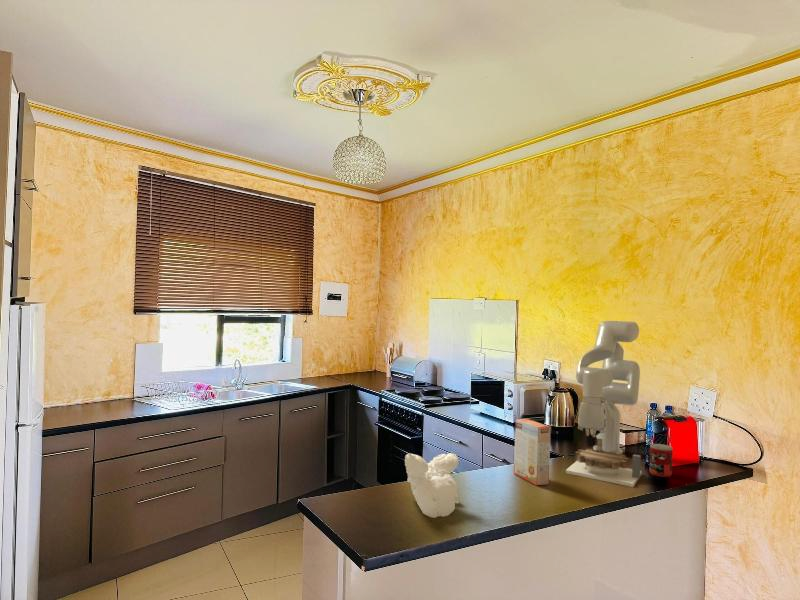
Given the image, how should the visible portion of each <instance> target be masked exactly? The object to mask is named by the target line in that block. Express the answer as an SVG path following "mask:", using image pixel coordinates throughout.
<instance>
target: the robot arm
mask: <svg viewBox="0 0 800 600" xmlns="http://www.w3.org/2000/svg"><path fill="white" fill-rule="evenodd" d="M639 334H640V328H639V325H638V323H637V322H635V321H625V320H623V321H622V320H603V321H601V322H600V323H599V324H598V330H597V334H596V338H595V342H594V346H593V347H592V348H591V349H590V350H588V351H587V352H585V353H584V354H582V356H581V358H580V359H579V361H578V365H577V368H576V371H575V373H576V374H575V379H576V382H577V383H578V384H580V385H582V402H580V406H579V410H578V417H577V418H578V419H577V420H578V421H577V424H578V426H577V429H578V430H580V431H582V432H583V433H584V434H585V435H586V443H587V446H588V447H591V448H592V449H593V450H597V444H596V443H597V439H602V450H604V451H608V452H610V451H613V452H617V453H616V454H623V453H624V451H623V449H622V448H620V437H621V436H620V435H621V433H620V432H621V412H620V409H618V407H617V406H616V405H625V406H635V405H636V404H637V403H638V399H639V391H640V389H639V388H640V379H641V369H640V365H639V363H638V362H636V361H634V360H627V359H624V354H625V350H624V348H623V346H622V345H621V343H632V342H634V341H636V340H637V338H638V337H639ZM601 361H602V366H601V367H602V368H601V367H600V368H599V367H590V365H592V364H594V363H597V362H601ZM616 381H618V382H616ZM619 381H622V382H623V383H622V382H619ZM624 382H625V383H624ZM626 382H627V383H626ZM591 430H592V431H591Z"/></svg>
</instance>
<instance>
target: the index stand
mask: <svg viewBox="0 0 800 600" xmlns="http://www.w3.org/2000/svg"><path fill="white" fill-rule="evenodd" d="M641 458H642V457H641V455H640V454H636V453H635V454H634V453H633V455H632V468H628V467H627V468H621V467H619V469H612V468H606V469H604V468H599V467H598V466H588V465H586V463H580V462H578V461H577V460H575V462H574V463H572V464H571V465H570V466H569V467H568V468H567V469H565V474H568V475H574V476H578V477H583V478H588V479H593V480H596V481H602V482H607V483H612V484H617V485H622V486H625V487H630V488H631V487H632V488H634V487H635V485H636V484H637V482H638V480H639V479H640V478H641V476H642V473H643V472H642V470H641V468H642V467H641V466H642V465H641V461H642V459H641Z"/></svg>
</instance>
